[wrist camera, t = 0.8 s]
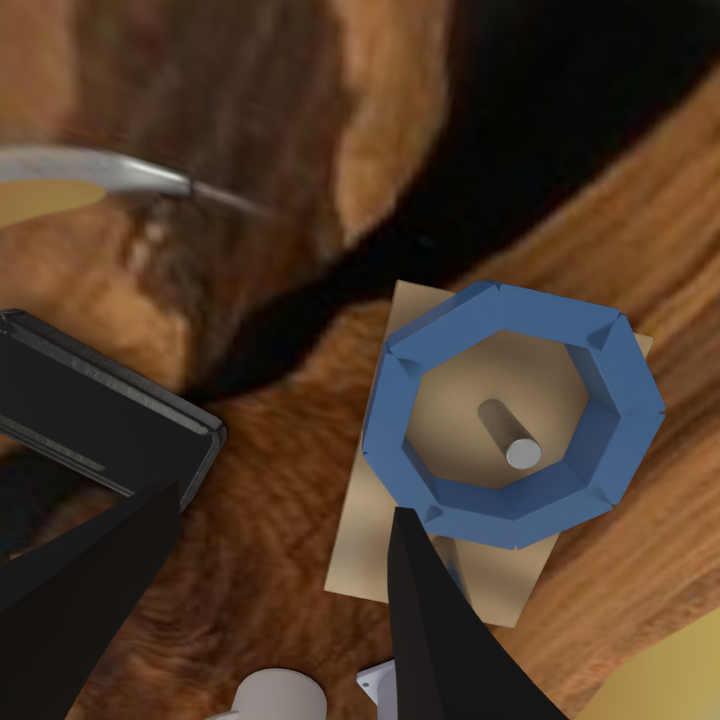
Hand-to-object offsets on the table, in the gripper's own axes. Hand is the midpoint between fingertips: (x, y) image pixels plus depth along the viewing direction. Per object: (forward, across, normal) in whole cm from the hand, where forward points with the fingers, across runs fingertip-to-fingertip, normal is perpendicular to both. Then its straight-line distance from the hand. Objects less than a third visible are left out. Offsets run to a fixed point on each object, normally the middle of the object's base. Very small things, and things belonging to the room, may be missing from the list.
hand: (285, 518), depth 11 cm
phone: (+10, +14, +3) cm, 18 cm away
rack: (+10, -9, +4) cm, 14 cm away
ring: (+9, -10, -1) cm, 13 cm away
